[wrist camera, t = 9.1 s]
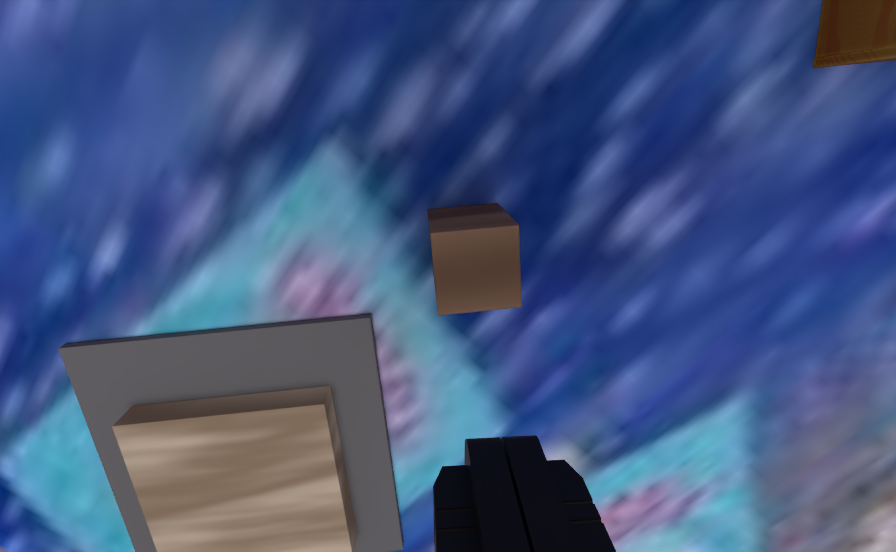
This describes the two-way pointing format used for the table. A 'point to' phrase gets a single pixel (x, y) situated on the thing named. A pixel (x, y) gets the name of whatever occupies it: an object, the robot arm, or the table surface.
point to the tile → (241, 473)
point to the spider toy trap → (856, 32)
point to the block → (475, 258)
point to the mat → (238, 373)
